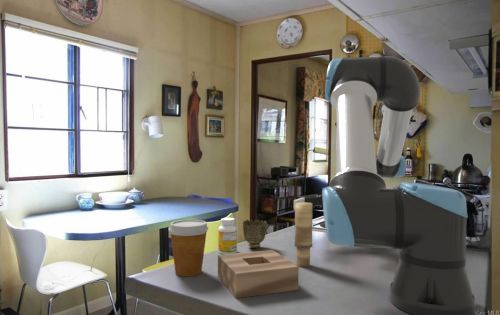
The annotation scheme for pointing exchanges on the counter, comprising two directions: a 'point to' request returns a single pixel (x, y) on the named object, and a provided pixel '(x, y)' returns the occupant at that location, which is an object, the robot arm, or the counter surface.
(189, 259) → the disposable coffee cup
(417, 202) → the robot arm
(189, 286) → the counter surface
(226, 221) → the supplement bottle
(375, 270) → the counter surface
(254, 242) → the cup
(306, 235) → the leg
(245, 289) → the seat block
